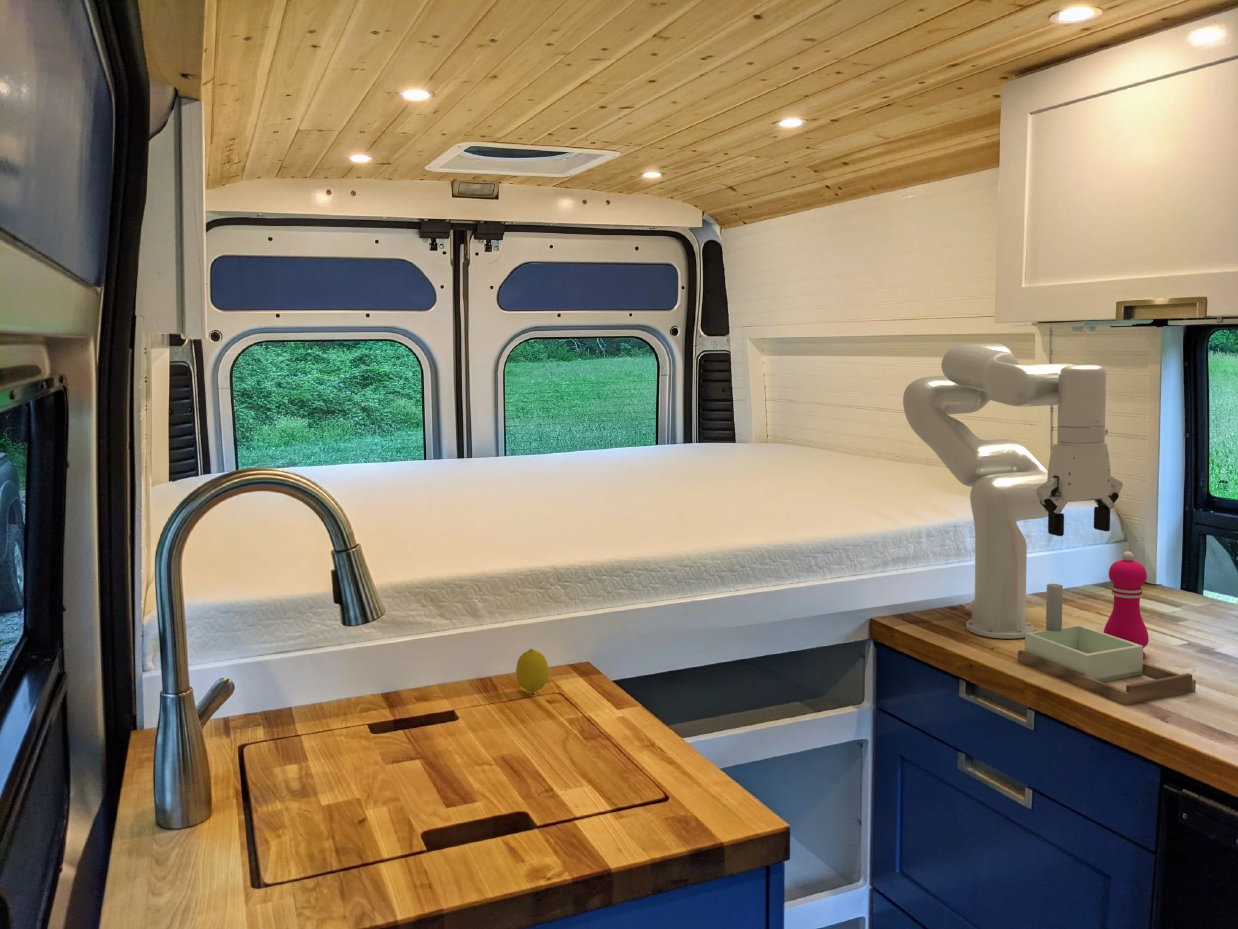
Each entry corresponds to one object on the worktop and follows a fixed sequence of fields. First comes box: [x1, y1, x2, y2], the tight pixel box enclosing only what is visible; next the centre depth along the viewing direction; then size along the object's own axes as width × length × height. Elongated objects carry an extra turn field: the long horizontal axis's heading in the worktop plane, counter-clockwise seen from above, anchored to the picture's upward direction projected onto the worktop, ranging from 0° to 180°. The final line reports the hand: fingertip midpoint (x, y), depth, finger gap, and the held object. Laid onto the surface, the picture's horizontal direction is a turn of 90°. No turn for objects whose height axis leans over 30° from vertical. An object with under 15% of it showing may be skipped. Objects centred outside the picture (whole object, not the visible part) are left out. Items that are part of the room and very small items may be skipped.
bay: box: [1017, 649, 1197, 706], centre depth 163 cm, size 23×14×4 cm, turn 19°
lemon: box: [515, 648, 549, 694], centre depth 167 cm, size 6×6×8 cm
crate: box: [1024, 583, 1144, 683], centre depth 167 cm, size 15×12×13 cm
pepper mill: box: [1103, 550, 1150, 659], centre depth 172 cm, size 7×7×20 cm
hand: (1078, 532), depth 171 cm, fingers open, 9 cm apart
